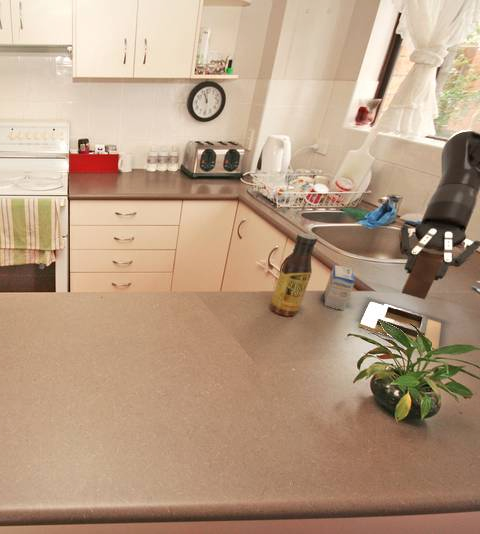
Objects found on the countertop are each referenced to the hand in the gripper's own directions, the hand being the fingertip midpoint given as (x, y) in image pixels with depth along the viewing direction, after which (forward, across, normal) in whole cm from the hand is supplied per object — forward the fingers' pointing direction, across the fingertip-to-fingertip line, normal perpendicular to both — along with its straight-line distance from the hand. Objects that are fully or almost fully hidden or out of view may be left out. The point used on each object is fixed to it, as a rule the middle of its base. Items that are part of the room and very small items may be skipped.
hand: (422, 275), depth 83 cm
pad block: (+2, 0, +5) cm, 5 cm away
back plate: (+9, 0, +11) cm, 14 cm away
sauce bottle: (+17, -22, +3) cm, 28 cm away
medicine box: (+7, -14, +13) cm, 20 cm away
